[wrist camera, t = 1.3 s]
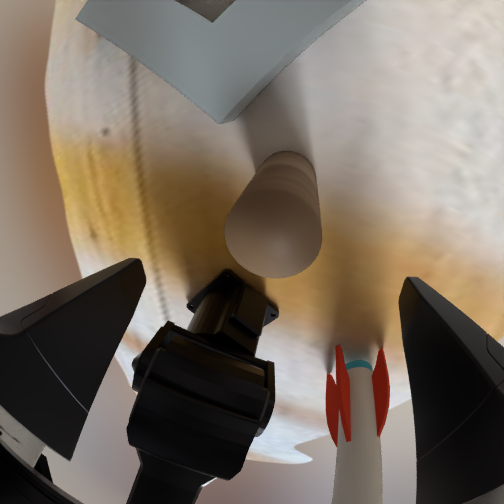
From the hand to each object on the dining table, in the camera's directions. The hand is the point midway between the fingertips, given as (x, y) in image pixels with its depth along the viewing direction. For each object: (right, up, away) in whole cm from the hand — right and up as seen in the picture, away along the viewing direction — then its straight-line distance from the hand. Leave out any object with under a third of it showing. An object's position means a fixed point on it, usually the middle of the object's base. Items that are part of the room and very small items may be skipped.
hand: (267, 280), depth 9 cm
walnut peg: (+2, +6, +10) cm, 12 cm away
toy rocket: (+11, -11, +18) cm, 24 cm away
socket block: (-2, +19, +3) cm, 19 cm away
